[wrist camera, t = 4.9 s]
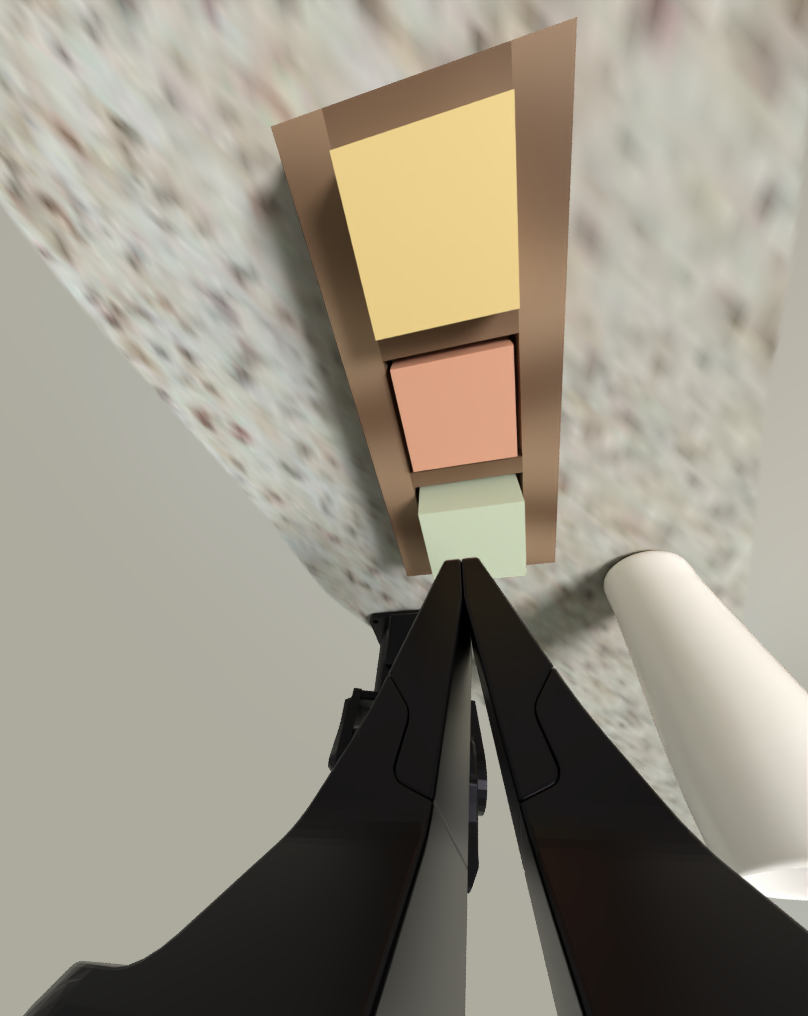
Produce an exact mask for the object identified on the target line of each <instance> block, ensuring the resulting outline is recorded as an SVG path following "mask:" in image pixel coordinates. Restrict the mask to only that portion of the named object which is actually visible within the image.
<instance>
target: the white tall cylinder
mask: <svg viewBox="0 0 808 1016" xmlns="http://www.w3.org/2000/svg"><path fill="white" fill-rule="evenodd" d="M604 591H605V594H606V597H607V599H608V601H609V603H610V605H611V607H612V609H613V611H614V614H615V616H616V619H617V622H618V624H619V627H620V630H621V632H622V635H623V638H624V641H625V643H626V646H627V649H628V651H629V654H630V657H631V660H632V662H633V665H634V668H635V671H636V673H637V676H638V679H639V682H640V685H641V687H642V690H643V693H644V696H645V698H646V701H647V704H648V707H649V710H650V712H651V715H652V718H653V721H654V723H655V726H656V729H657V732H658V735H659V737H660V740H661V743H662V745H663V748H664V751H665V753H666V756H667V758H668V761H669V764H670V766H671V769H672V771H673V773H674V776H675V778H676V781H677V783H678V785H679V788H680V790H681V792H682V794H683V797H684V799H685V801H686V803H687V806H688V808H689V810H690V812H691V814H692V816H693V819H694V821H695V823H696V825H697V827H698V829H699V831H700V833H701V835H702V837H703V840H704V842H705V844H706V846H707V848H708V849H709V850H711V851H712V852H713V853H714V854H715V855H716V856H717V857H718V858H720V859H721V860H722V861H723V862H724V863H726V864H727V865H728V866H729V867H730V868H732V869H733V870H734V871H735V872H737V873H738V874H739V875H740V876H741V877H743V878H744V879H745V880H746V881H748V882H749V883H750V884H751V885H752V886H754V887H755V888H756V889H757V890H759V891H760V892H761V893H762V894H763V895H765V896H766V897H770V898H779V899H791V900H807V901H808V692H806V691H805V689H804V688H803V687H802V686H801V685H800V684H799V683H798V682H797V681H796V680H795V679H794V678H793V677H792V676H791V675H790V674H789V672H787V670H786V669H785V668H783V666H782V665H781V664H780V663H779V662H778V661H777V660H776V659H775V658H774V657H773V656H772V655H771V654H770V653H769V652H768V650H767V649H765V647H764V646H763V645H762V644H761V643H760V642H759V641H758V640H757V639H756V638H755V637H754V636H753V635H752V634H751V632H750V631H749V630H748V629H747V628H746V627H745V626H744V625H743V624H742V623H741V622H740V621H739V620H738V619H737V618H736V617H735V615H734V614H733V613H732V612H731V611H730V610H729V609H728V608H727V607H726V606H725V605H724V604H723V603H722V602H721V601H720V599H719V598H718V597H717V596H716V595H715V594H714V593H713V592H712V591H711V590H710V589H709V588H708V587H707V585H706V584H705V583H704V582H703V581H702V580H701V579H700V577H699V576H698V575H697V573H696V572H695V571H694V570H693V568H692V567H691V566H690V565H689V563H688V562H687V561H686V560H684V559H683V558H682V557H680V556H678V555H676V554H674V553H670V552H666V551H645V552H640V553H636V554H633V555H631V556H628V557H626V558H624V559H622V560H621V561H619V562H618V563H616V564H615V565H614V566H613V567H612V568H611V569H610V570H609V571H608V573H607V575H606V577H605V580H604Z"/></svg>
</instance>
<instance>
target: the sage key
mask: <svg viewBox="0 0 808 1016" xmlns="http://www.w3.org/2000/svg"><path fill="white" fill-rule="evenodd" d="M418 516H419V521H420V525H421V529H422V533H423V537H424V541H425V545H426V549H427V553H428V557H429V562H430V566H431V570H432V574H433V578H434V580H435V578H436V576H437V574H438V572H439V570H440V568H441V566H442V564H443V563H444V561H446V560H452V559H460V560H461V562H462V559H463V558H472V557H477V558H479V559H480V561H481V562H482V564H483V565H484V566H485V568H486V569H487V571H488V572H489V574H490V575H491V577H492V578H504V577H515V576H526V537H525V501H524V498H523V495H522V492H521V489H520V486H519V483H518V480H517V477H516V474H515V473H514V474H507V475H500V476H493V477H486V478H479V479H472V480H465V481H458V482H451V483H444V484H437V485H430V486H423V487H420V494H419V509H418Z"/></svg>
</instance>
